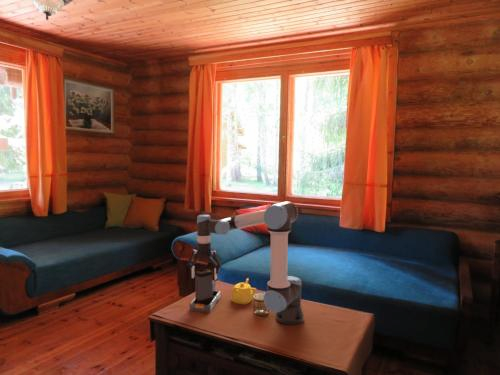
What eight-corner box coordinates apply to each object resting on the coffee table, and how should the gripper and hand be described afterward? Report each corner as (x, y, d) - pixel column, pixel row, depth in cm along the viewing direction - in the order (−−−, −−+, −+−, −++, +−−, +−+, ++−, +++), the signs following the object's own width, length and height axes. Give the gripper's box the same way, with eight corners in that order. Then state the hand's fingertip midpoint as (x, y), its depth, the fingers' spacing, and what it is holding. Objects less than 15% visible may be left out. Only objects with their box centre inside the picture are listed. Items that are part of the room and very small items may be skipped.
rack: (220, 297, 225) (220, 280, 224) (209, 313, 203) (209, 294, 202) (202, 295, 228) (202, 278, 226) (189, 311, 206) (189, 292, 204)
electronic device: (207, 301, 217) (207, 268, 215) (213, 304, 212) (213, 271, 210) (194, 305, 211) (194, 271, 209) (199, 308, 206) (199, 274, 204)
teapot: (250, 309, 209) (251, 291, 208) (225, 305, 213) (225, 287, 212) (261, 295, 230) (261, 278, 228) (238, 292, 234) (238, 275, 233)
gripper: (226, 241, 209) (227, 277, 211) (185, 239, 214) (186, 274, 216) (223, 244, 202) (223, 282, 204) (180, 242, 207) (181, 279, 209)
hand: (204, 278), depth 210 cm, fingers open, 13 cm apart
